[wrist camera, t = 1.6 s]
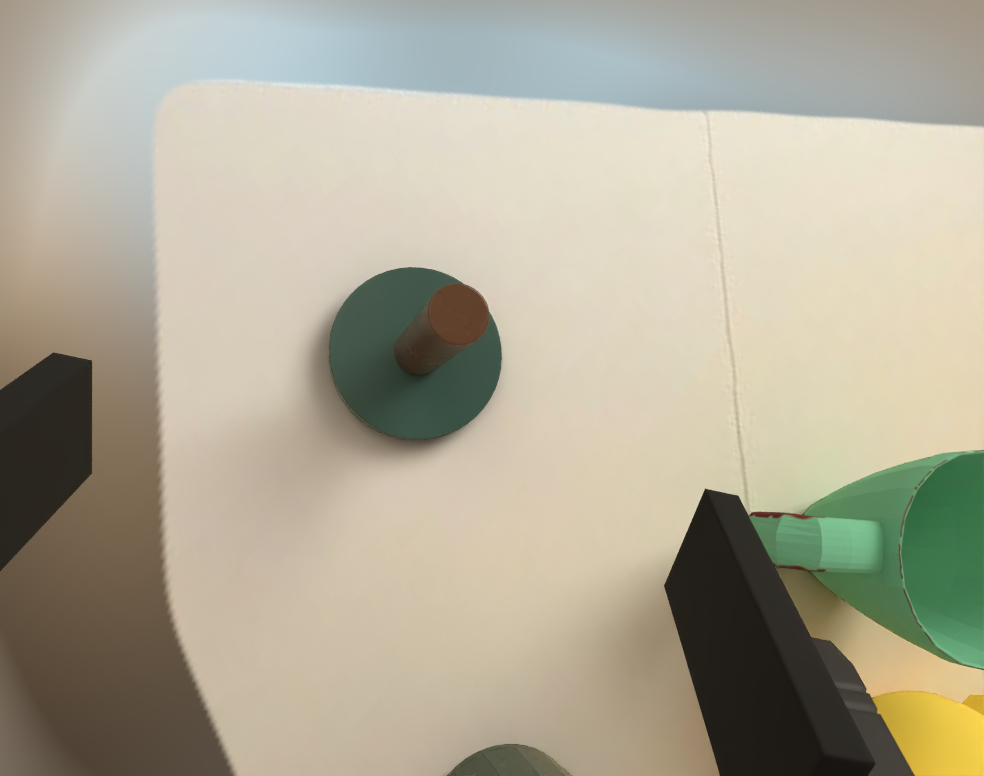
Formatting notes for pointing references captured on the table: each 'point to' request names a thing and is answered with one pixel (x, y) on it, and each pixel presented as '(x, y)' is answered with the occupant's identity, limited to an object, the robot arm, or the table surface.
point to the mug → (899, 550)
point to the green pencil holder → (509, 763)
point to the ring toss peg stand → (415, 353)
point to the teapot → (936, 732)
